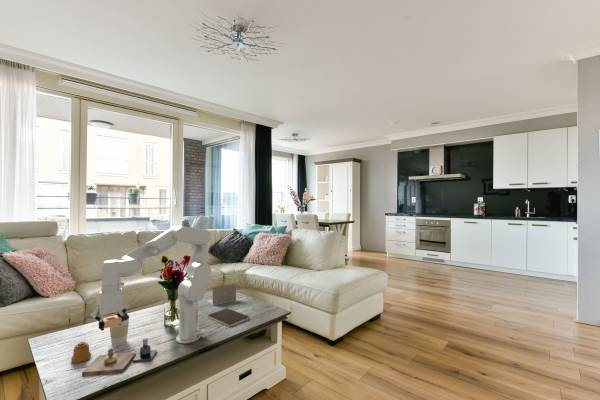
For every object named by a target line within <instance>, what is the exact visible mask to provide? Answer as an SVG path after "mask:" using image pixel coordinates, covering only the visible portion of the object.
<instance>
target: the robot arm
mask: <svg viewBox="0 0 600 400" xmlns="http://www.w3.org/2000/svg"><path fill="white" fill-rule="evenodd" d="M211 240H212V234H211V232H210V230H208V229H205V228H198V227H197V228H196V227H189V226H184V225H174V226H172V227H170V228H169V229H167V230H165V231H164V232H163V233H161V234H159V235H158V236H156V237H155V238H153V239H152V240H149V241H147V242H146V243H143V244H142V245H139V246H138V247H136V248H134V249H132V250H130V251H129V252H128V253H127V254H125V255H124V256H122V257H120V259H108V260H104V261H103V262H102V264H101V285H100V287H101V290H100V291H99V292H98V295H97V301H96V308H95V309H94V310H93V311H92V312H91V313H90V317H91V318H93V319H95V320H97V321H98V329H99V330H100V331H101V332H102V331H105V328H104V321H103V319H104V318H106V317H105V316H106V315H110V314H113V313H116V314H118V315H117V316H118V317H120V318H122V316H123V315H124V313H127V310H129V308H130V306H131V305H130V304H129V303H127V302H126V301H125V294H124V290H123V286H125V282H122V276H132V275H136V274H137V273H139V272H140V271H141V269H142V262H143V261H145V260H146V259H149V258H152V257H157V256H160V255H163V254H164V253H166V252H167V251H168V250H169V249H171V248H172V247H174V246H175V245H177V244H178V243H182V244H188V245H192V251H191V256H190V258H189V261H188V265H187V267H186V274H187V276H188V277H190V278H192V279H184V280H183V281H181V282H180V283H179V285H178V287H177V297H178V303H179V304H178V305H179V306H178V309H179V311H178V312H179V313H178V328H179V329H178V335H177V336H176V337H175V341H176V342H177V343H179V344H191V343H194V342H197V341H198V340H199V339H200V338H201V337H202V336H205V335H206V333H207V331H206V330H205V329H200V327H199V320H198V319H199V315H198V314H199V307H198V306H199V302H200V301H201V300H202V299H203V298H204V296H205V295H206V292H207V290H208V286H209V284H210V280H211V276H212V268H211V265H210V264H209V263H207V259H208V254H209V245H208V244H209V243H210V242H211ZM97 314H99V315H98V316H97ZM119 325H121V324H119Z"/></svg>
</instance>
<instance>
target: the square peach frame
mask: <svg viewBox="0 0 600 400" xmlns="http://www.w3.org/2000/svg"><path fill="white" fill-rule="evenodd" d="M103 321H104V329H108V328H109V329H110V327H112V326H115V325H119V324H121V322H122V318H120V317H118V316H117V315H115V314H113V315H111V316H107V317H104V319H103Z"/></svg>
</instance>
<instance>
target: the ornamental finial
mask: <svg viewBox="0 0 600 400" xmlns="http://www.w3.org/2000/svg"><path fill="white" fill-rule="evenodd" d="M91 356H92V352H91V351H90V343H89V342H86V341H79V342H78V343H77V344H76V345H74V347H73V355H72V357H71V358H70V361H71V363H73V364H81V363H84V362H87V361H88V360H89V359H91Z"/></svg>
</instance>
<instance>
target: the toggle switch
mask: <svg viewBox="0 0 600 400" xmlns="http://www.w3.org/2000/svg"><path fill="white" fill-rule="evenodd" d="M136 355H137V352H126V353H125V352H124V353H114V349H113V348H111V347H110V348H108V350H107V354H99V355H98V356H97V357H96V358H95V359H94V360H93V361H92V362H91V363H90V364H88V366H87V367H86V368H85V369H84V370H82V371H81V376H82V377H85V376H95V375H108V374H119V373H123V372H124V371H125V370H126V369H127V368H128V366H129V365H130V364H131V363H132V362H133V359H134V358H135V357H136Z"/></svg>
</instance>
